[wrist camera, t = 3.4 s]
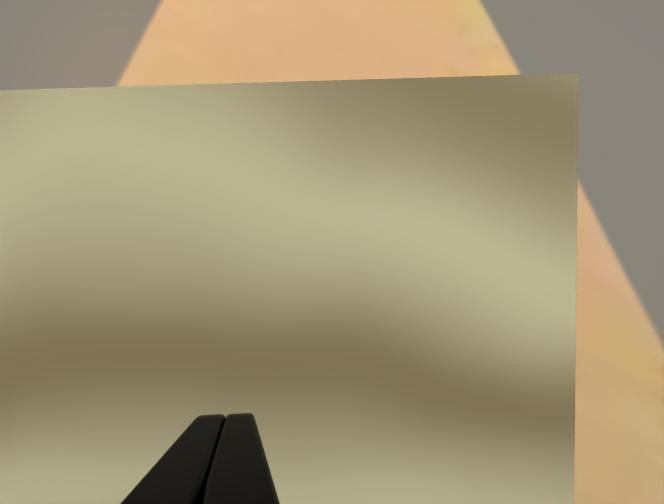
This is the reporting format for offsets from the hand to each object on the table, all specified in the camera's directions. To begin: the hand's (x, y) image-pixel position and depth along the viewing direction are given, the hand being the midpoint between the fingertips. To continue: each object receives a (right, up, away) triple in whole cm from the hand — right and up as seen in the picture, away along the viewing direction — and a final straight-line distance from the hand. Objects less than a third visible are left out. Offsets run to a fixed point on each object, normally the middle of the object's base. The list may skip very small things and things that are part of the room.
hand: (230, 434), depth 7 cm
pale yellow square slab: (0, 0, +4) cm, 5 cm away
